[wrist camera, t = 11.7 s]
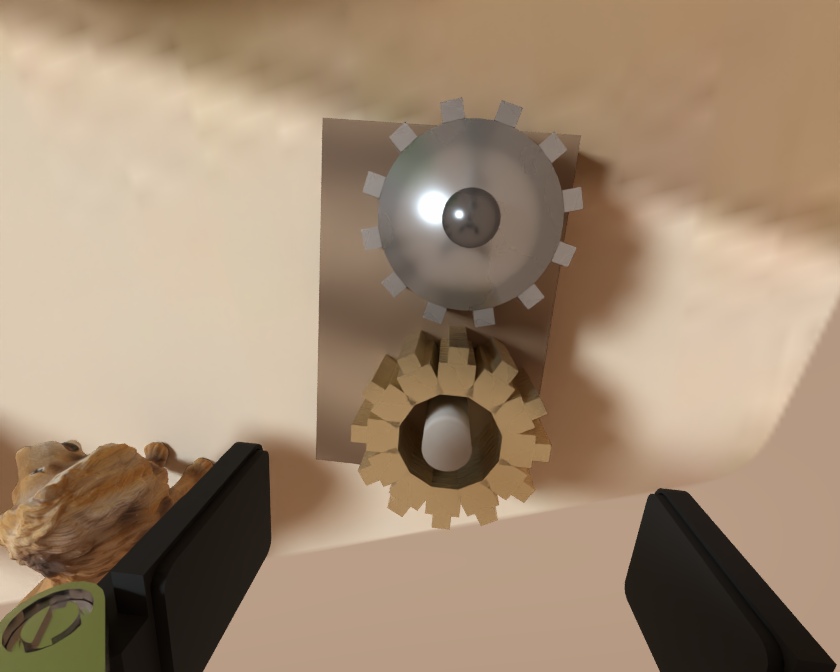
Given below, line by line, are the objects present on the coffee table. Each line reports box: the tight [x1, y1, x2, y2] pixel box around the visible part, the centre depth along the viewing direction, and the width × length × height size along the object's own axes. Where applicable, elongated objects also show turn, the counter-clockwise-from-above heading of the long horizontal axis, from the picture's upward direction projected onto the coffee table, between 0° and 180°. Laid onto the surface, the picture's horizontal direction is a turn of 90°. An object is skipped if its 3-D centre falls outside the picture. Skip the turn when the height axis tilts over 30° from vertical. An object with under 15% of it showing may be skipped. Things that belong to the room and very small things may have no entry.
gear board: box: [316, 118, 581, 471], centre depth 17 cm, size 15×10×6 cm, turn 175°
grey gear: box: [361, 98, 583, 327], centre depth 15 cm, size 7×7×4 cm
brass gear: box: [351, 325, 552, 529], centre depth 17 cm, size 7×7×4 cm
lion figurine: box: [0, 440, 213, 605], centre depth 19 cm, size 15×5×9 cm, turn 155°
